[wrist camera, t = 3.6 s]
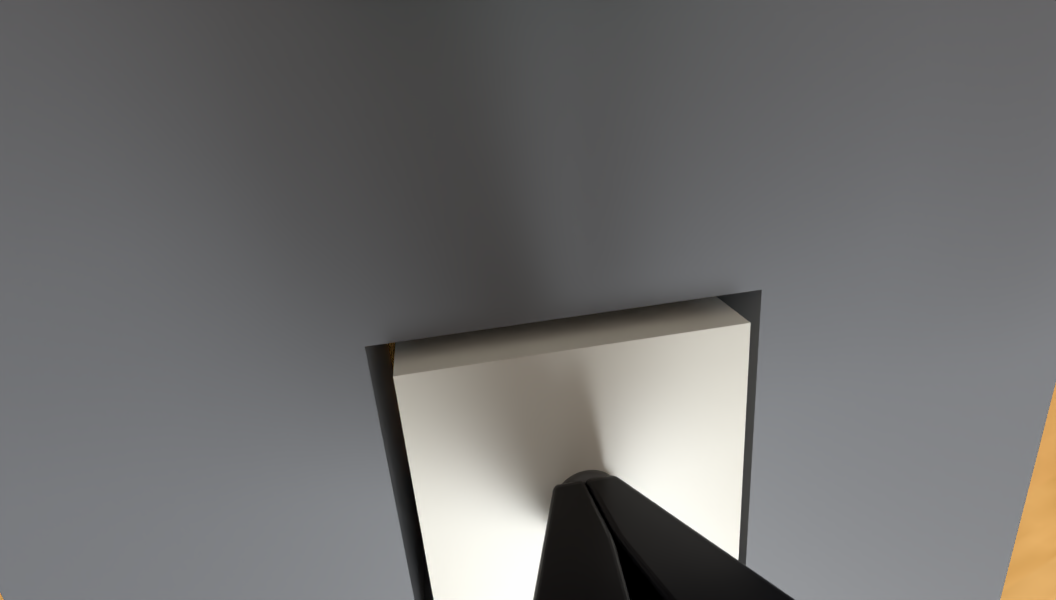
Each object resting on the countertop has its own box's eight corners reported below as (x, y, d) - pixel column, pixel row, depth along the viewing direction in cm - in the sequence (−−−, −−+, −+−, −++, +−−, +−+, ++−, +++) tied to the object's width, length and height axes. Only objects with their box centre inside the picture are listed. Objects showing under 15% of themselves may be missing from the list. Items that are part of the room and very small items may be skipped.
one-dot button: (437, 532, 11) (443, 661, 9) (398, 302, 10) (392, 382, 7) (674, 489, 12) (741, 599, 9) (674, 264, 10) (757, 327, 8)
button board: (271, 911, 15) (244, 1069, 12) (-377, -696, 6) (-942, -1239, 3) (857, 763, 17) (929, 877, 14) (1086, -613, 7) (1388, -918, 5)
